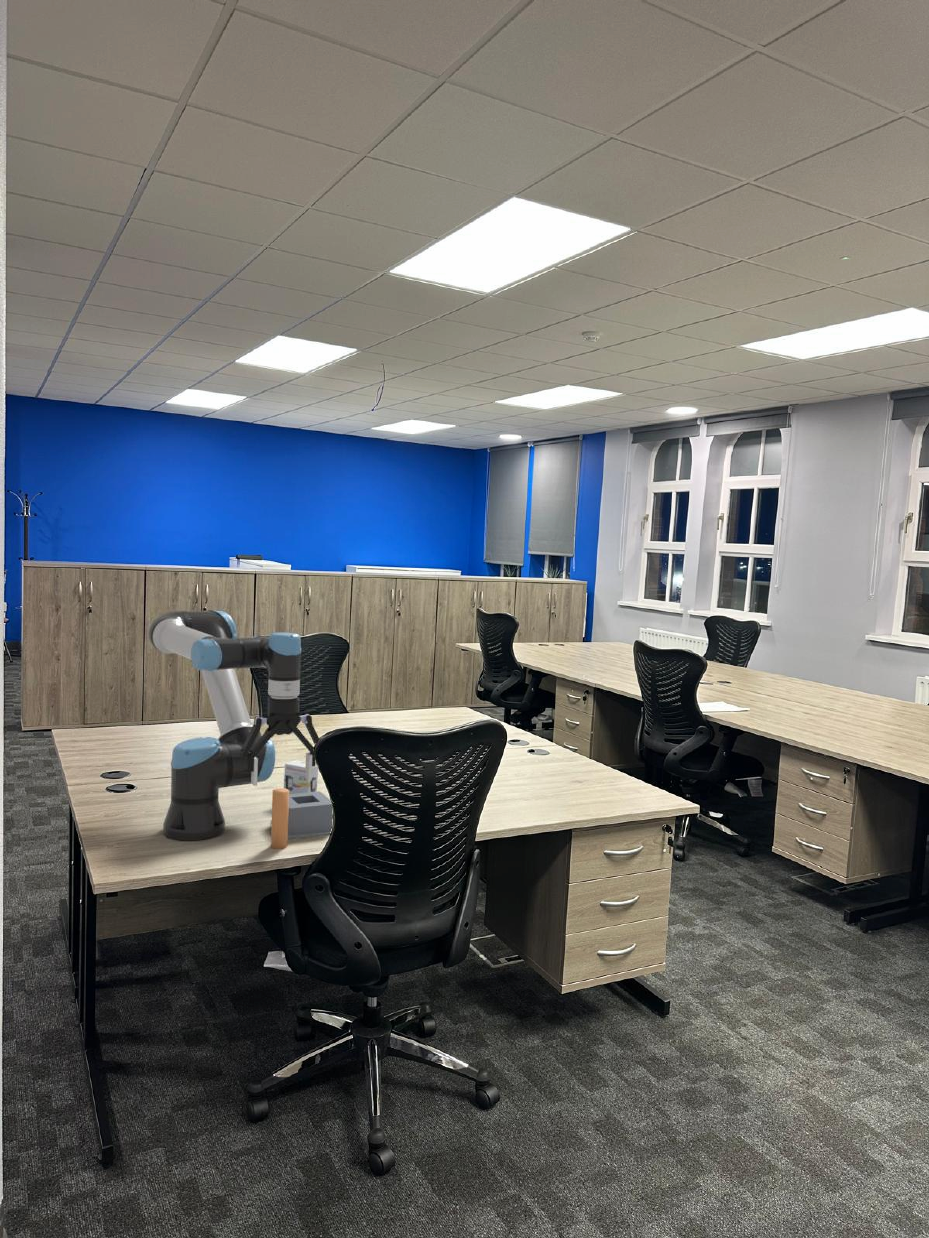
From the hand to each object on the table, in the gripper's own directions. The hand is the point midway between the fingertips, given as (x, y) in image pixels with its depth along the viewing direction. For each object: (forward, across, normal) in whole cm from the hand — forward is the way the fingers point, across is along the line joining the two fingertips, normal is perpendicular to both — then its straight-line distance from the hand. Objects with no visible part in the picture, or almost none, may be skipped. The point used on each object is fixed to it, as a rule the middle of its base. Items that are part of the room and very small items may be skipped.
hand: (281, 781), depth 215 cm
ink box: (+16, +15, +31) cm, 38 cm away
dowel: (+16, 0, 0) cm, 16 cm away
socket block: (+16, +10, +11) cm, 22 cm away
